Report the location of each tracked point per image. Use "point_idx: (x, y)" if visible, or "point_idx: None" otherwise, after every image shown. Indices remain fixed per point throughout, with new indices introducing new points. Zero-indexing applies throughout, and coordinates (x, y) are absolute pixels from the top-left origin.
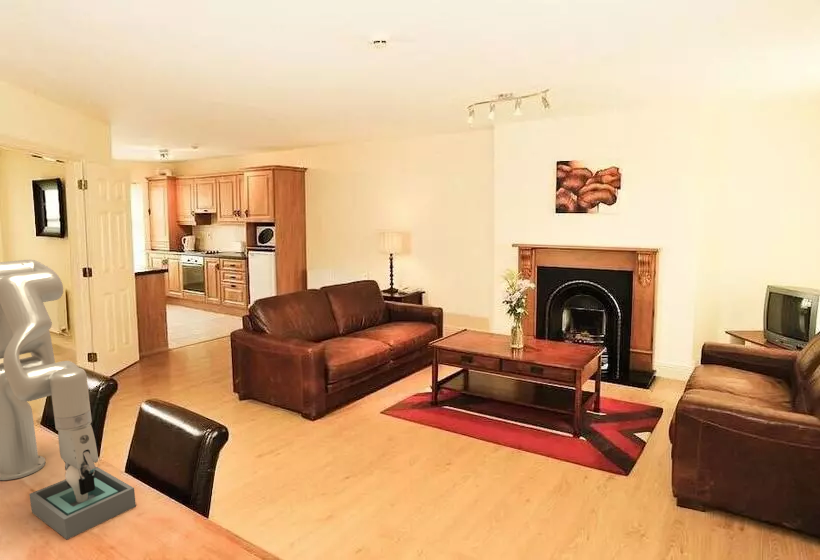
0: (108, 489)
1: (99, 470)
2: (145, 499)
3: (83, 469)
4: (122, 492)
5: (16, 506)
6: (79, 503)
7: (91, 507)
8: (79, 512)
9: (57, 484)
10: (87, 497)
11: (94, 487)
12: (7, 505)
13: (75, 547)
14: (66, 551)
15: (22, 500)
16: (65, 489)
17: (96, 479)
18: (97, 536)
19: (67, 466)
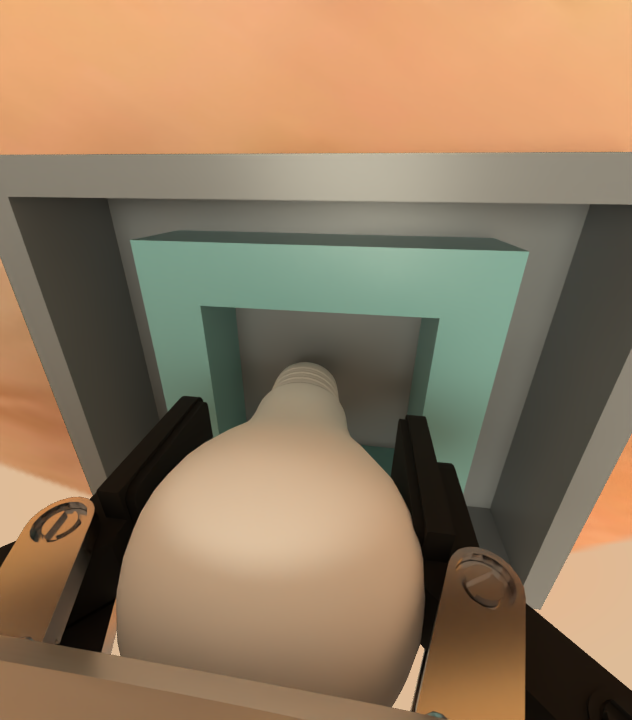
0: (419, 283)
1: (55, 180)
2: (618, 47)
3: (396, 692)
4: None
5: (77, 470)
6: (279, 372)
7: (591, 505)
8: (565, 558)
9: (97, 450)
10: (332, 379)
11: (428, 427)
12: (49, 479)
13: (590, 520)
14: (575, 542)
15: (40, 443)
16: (121, 386)
17: (165, 250)
18: (627, 450)
19: (111, 647)
